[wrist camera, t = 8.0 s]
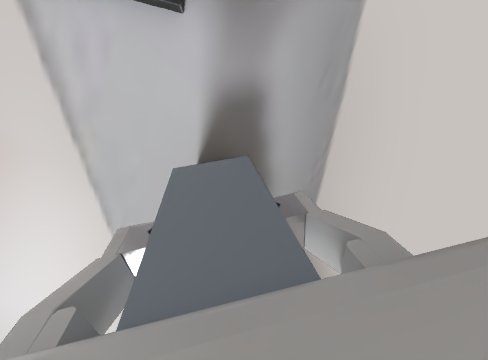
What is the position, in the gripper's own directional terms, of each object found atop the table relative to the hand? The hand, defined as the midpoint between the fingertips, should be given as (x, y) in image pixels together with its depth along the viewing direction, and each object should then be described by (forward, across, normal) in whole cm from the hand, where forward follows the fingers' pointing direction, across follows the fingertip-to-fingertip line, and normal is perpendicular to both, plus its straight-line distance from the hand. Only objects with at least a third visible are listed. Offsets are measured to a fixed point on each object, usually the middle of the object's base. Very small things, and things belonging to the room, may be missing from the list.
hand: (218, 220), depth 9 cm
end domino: (+5, 0, 0) cm, 5 cm away
